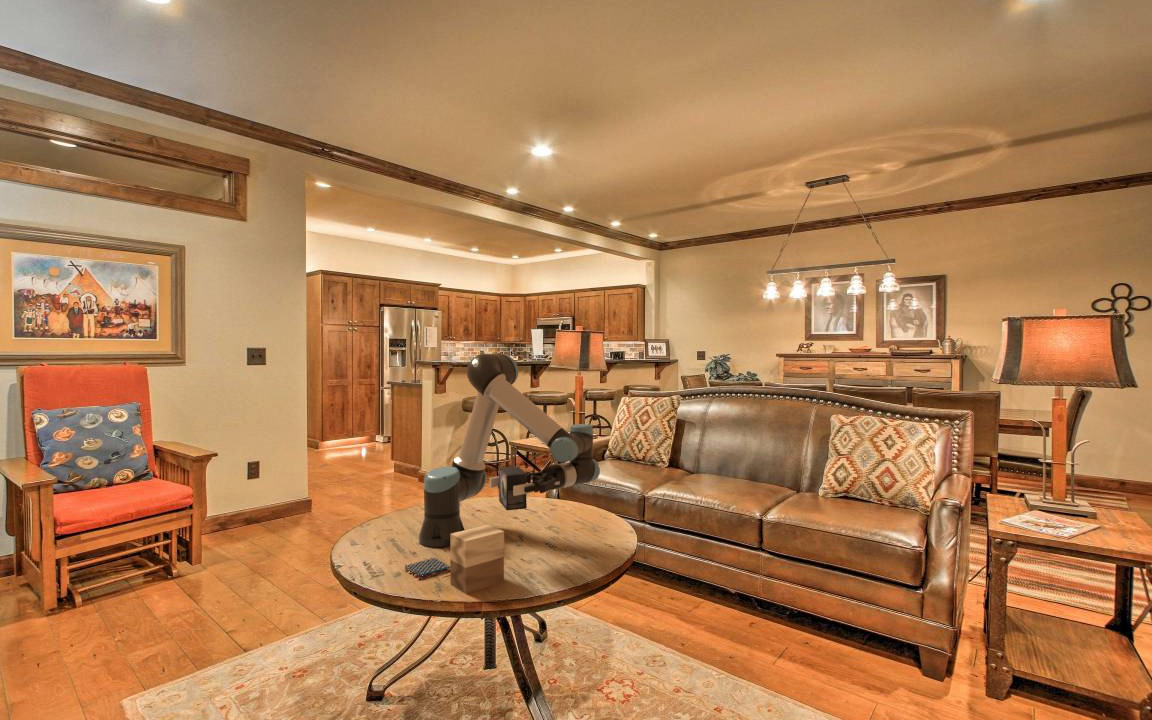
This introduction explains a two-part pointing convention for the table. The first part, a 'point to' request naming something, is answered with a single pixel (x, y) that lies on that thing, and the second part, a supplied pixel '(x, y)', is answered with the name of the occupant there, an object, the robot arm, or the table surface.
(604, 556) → the table surface
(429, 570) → the woven mat
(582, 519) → the table surface
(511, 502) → the small box
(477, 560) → the tower top
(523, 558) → the table surface
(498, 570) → the tower base
